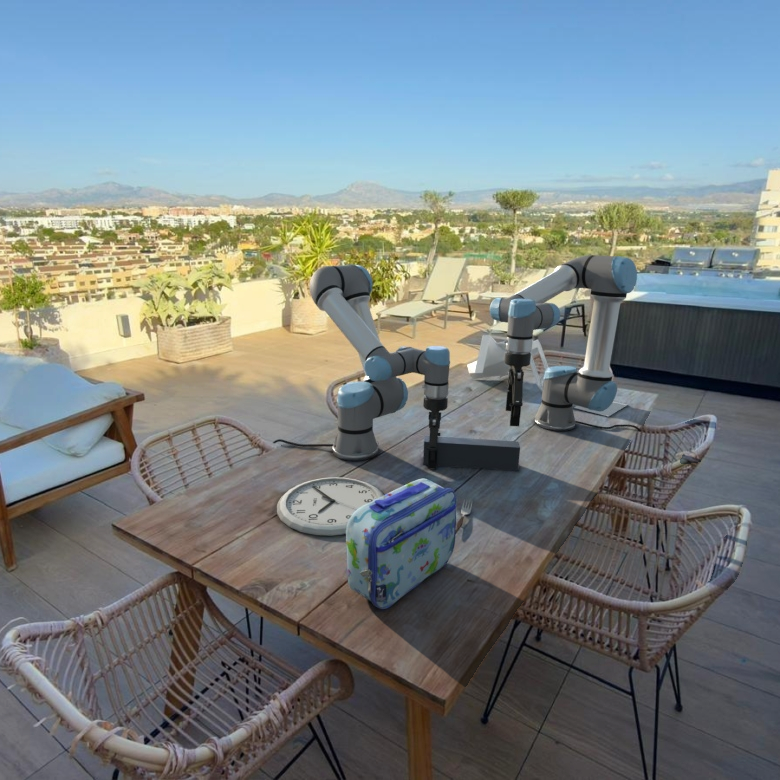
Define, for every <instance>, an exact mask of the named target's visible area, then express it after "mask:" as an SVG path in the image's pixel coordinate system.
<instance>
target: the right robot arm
mask: <svg viewBox="0 0 780 780" xmlns="http://www.w3.org/2000/svg"><path fill="white" fill-rule="evenodd" d="M637 280H638V271H637V266H636V264H635V262H634V260H633V259H631V258H630V257H625V256H619V255H616V256H615V255H595V254H586V255H582V256H578V257H576V258H572V259H569V260H568V261H566V262H563V263H562V264H560V265H558V266H557V267H555V269H554V270H553V272H552V273H550V274H548V275H546V276H544V277H543V278H541V279H539V280H537V281H536V282H533V283H532V284H530V285H528V286H527V287H525V288H523V289H522V290H520V291H518V292H516V293H514V294H512V295H510V296H509V297H496V298H494V299H493V300H492V301H491V303H490V305H489V315H490V317H491V319H493V320H495V321H497V322H500V323H507V330H506V331H507V333H506V339H504V340H503V341H504V343H506V350H507V351H506V352H505V364H507V365H510V369H509V372H508V374H509V375H507V376H508V377H507V382H506V390H507V391H506V402H505V412H510V416H509V417H510V419H509V427H520V423H521V422H520V421H521V412H522V407H523V405H524V404H523V403H524V402H523V398H524V397H523V395H524V375H525V372H524V371H523V369H522V368H524V367H528V366H531V365H530V359H531V354H530V352H531V350H532V341H534V338H533V336H534V331H536V330H543V329H550V328H552V327H555V326H556V325H557V324H558V323H559V322H560V320H561V309H560V308H559V306H558V305H557V304H555V303H553V302H549V301H550V300H552V299H553V298H555V297H557V296H558V295H560V294H562V293H564V292H571V291H572V290H574V289H587V290H590V294H589V295H590V297H591V298H592V299H593V304H592V311H591V317H590V325H589V331H588V336H587V341H586V342H587V343H586V350H585V354H584V355H585V356H584V363H583V366H582V367H581V368H580V369H578V368H577V367H576V366H571V365H555V366H554V365H553V366H550V367H549V368H547V369H546V371H545V370H544V375H543V378H542V379H543V381H542V382H543V383H542V387H543V391H541V393H542V394H541V402H540V405H539V407H538V410H537V411H536V413H535V416H534V424H535V425H536V426H537V427H539V428H542V429H544V430H549V431H556V432H567V431H572V430H574V429H575V428H576V424H578V425H583V426H588V427H591V428H596V429H600V430H601V429H602V430H610V429H613V428H617V427H627V428H628V427H629V428H633V429H636V430H637V432H642V429H640V428H639V427H638V426H636V425H633V424H613V425H611V426H600V425H596V424H591V423H588V422H587V423H586V422H582V421H579V420H578V421H577V420H576V418H575V417H576V416H575V413H574V407H573V405H574V406H581V407H584V408H588V409H589V410H595V411H604V410H606V409H607V408H608V407H609V406H610V405H611V404H612V402H613V401H614V400H615V399H616V396H617V394H618V393H617V392H618V385H617V382H615V381H613V375H614V374H613V373H612V372H611V371H610V367H611V361H612V355H613V348H614V343H615V336H616V331H617V325H618V321H619V320H618V319H619V314H620V307H621V303H622V302H623V301H624V300H626V299H627V295H628V294H630V293H632V292H633V291H634V290H635V287H636V286H637Z"/></svg>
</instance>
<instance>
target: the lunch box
mask: <svg viewBox="0 0 780 780" xmlns="http://www.w3.org/2000/svg"><path fill="white" fill-rule="evenodd" d="M456 498H457V496H456V493H455V491H454V489H452V488H450V487H443V486H441V485H439V484H438V483H436V482H433V481H432V480H430V479H427V478H423V477H422V478H418V479H416V480H413V481H411V482H409V483H406V484H405V485H402V486H400V487H398V488H396V489H394V490H392V491H390V492H388V493H386V494H384V496H382V497H380V498H378V499H376V500H374V501H372V502H370V503H368V504H366V505H364V506H362V507H360V508H358V509H357V510H356V511H355V512H354V513H353V514H352V515H351V517H350V519H349V521H348V524H347V528H346V534H345V547H346V549H345V550H346V572H347V573H346V575H347V584H348V587H349V589H350V590H351V591H353V592H355V593H357V594H358V595H361V596H363V597H364V598H365V599H367V600H368V601H369V602H371V604H372V605H373V606H374V607H376V608H377V609H380V610H386V609H389V608H391V607H393V605H395V603H397V602H398V601H399V600H400V599H402V598H403V597H404V596H405V595H408V593H410V592H411V591H412V590H413V589H415V588H416V587H417V586H419V585H420V584H421V583H423V581H424V580H425V579H427V578H428V577H430V576H431V575H433V574H435V573H437V572H438V571H439V570H441V569H442V568H443V567H444V566H446V564H447V563H448V562H449V560H450V559H451V556H452V555H453V552H454V548H455V544H456V535H455V533H456V528H457V499H456ZM456 534H457V533H456Z"/></svg>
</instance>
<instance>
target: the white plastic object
mask: <svg viewBox="0 0 780 780" xmlns="http://www.w3.org/2000/svg"><path fill="white" fill-rule="evenodd" d="M480 340H481V341H480V345H479V349H478V356H477V358H476V360H475V361H472V362H470V363H468V364H467V369H468V374H469V376H470V377H471V379H473V380H476V379H485V378H494V377H499V378H503V377H505V376H509V369H510V365H507V364H505V352H506V351H507V350H506V343H504V341H505V340H503V341H498V342H497V341H496V340H495V338H494V337H493V336H492V334H482V336H481V339H480ZM530 354H531V359H530V365H529V366H530V368H531V371H532V374H533V378H534V381H535V384H536V386H537V388H538V389H539V391H541V392H542V391H543V383H542V381H541V379H540V375H539V372H538V369H537V366H536V364H535V363H536V362H535V360H534V357H533V356H535V355H538V354H539V357H540V359H541V363H542V364H543V368H544V372H545V371H546V369H547V368H550V367H549V363H548V361H547V358H546V355H545V352H544V349H543V346H542V344H541V342H540V339H535V340H533V341H532V350H531V352H530Z"/></svg>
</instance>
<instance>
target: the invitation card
mask: <svg viewBox="0 0 780 780" xmlns="http://www.w3.org/2000/svg"><path fill="white" fill-rule="evenodd" d="M627 406H628V404H627V403H623V402H618V401H614V400H613V402H612V404H611V405H610V406H609V407H608V408H607V409H606V410H604V411H595V410H589V409H588V408H584V407H581V406H577V405H575V406H574V407H573V409H575V410H580V411H584V412H587V413H592V414H594V415H595V414H596V415H600V416H603V417H608V418H609V417H611V416H612V415H614V414H616V413H617V412H619V411H620V410H622V409H624V408H625V407H627Z"/></svg>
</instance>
